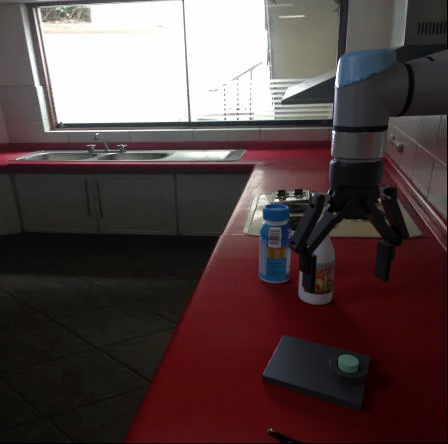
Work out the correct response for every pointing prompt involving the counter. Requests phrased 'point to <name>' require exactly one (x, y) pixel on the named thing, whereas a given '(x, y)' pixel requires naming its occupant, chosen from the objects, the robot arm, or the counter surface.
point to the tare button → (348, 363)
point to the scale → (317, 372)
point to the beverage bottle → (275, 244)
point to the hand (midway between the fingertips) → (345, 284)
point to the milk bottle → (321, 275)
